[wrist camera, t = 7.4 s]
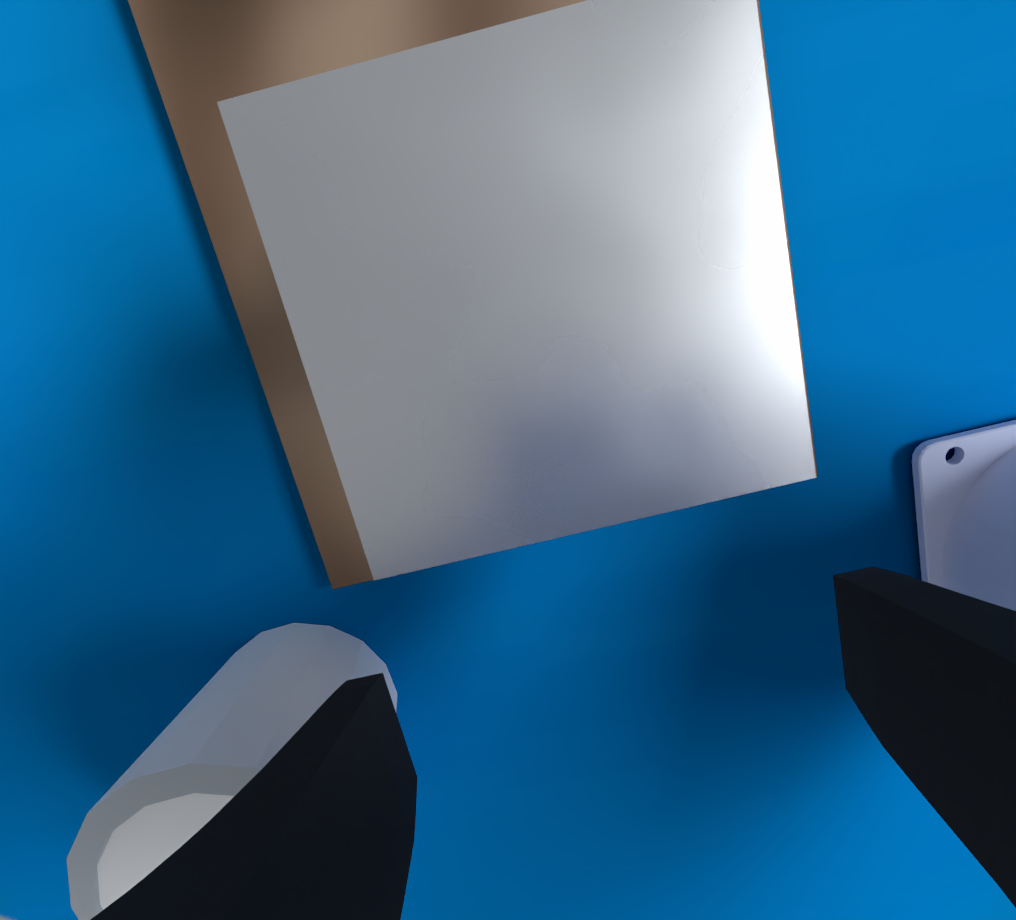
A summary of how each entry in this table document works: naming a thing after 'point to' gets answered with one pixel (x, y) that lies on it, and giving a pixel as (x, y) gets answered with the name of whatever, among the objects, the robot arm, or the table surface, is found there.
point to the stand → (224, 201)
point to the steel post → (536, 274)
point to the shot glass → (210, 755)
